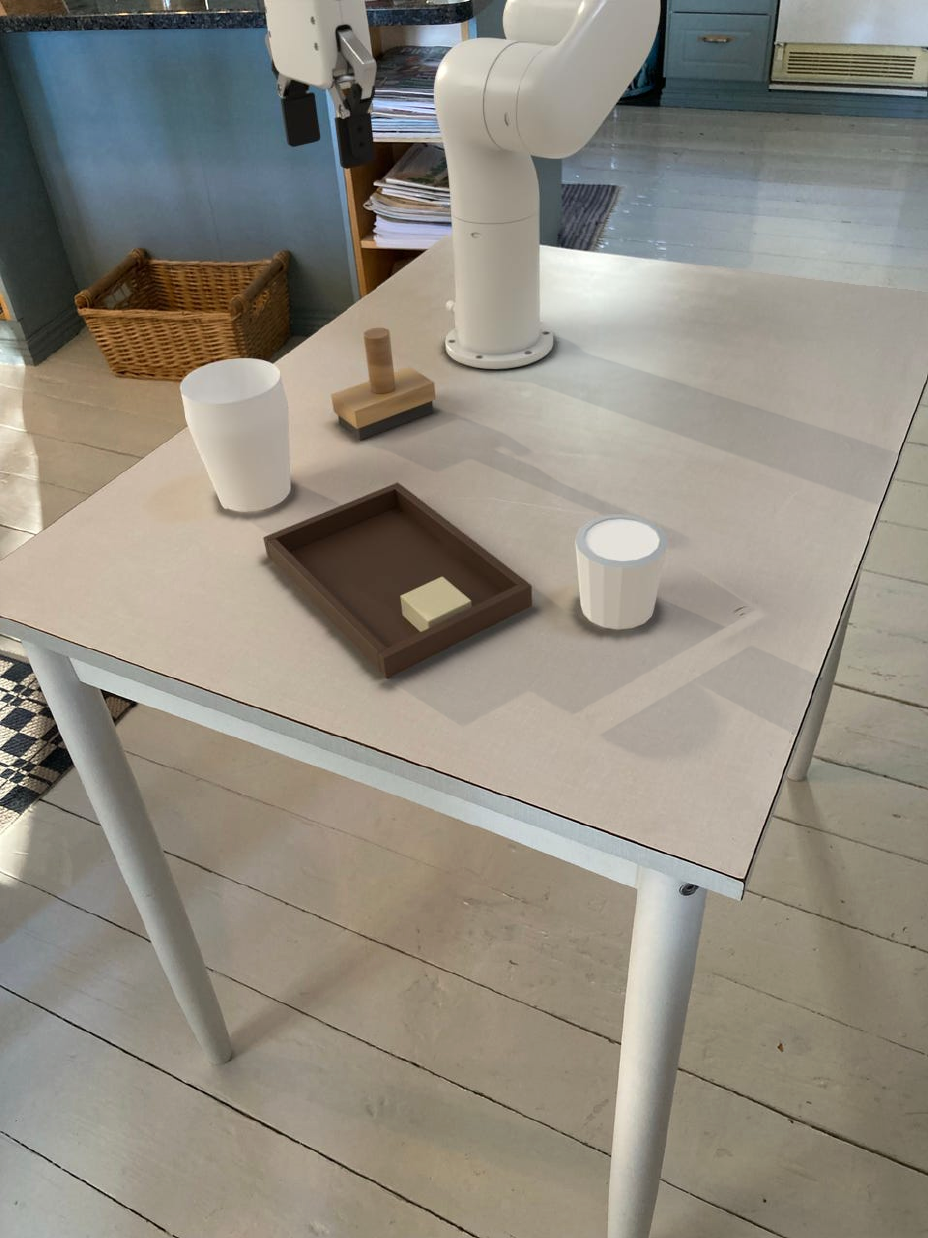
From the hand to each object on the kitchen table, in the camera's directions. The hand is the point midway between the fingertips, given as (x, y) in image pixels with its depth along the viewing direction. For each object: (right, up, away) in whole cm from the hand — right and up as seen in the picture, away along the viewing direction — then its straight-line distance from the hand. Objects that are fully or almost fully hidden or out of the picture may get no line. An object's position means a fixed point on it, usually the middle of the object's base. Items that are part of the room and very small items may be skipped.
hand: (330, 153), depth 89 cm
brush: (+4, -20, +16) cm, 26 cm away
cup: (-8, -30, +6) cm, 32 cm away
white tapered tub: (+24, -41, -10) cm, 49 cm away
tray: (+6, -39, -6) cm, 40 cm away
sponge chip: (+10, -41, -11) cm, 44 cm away
